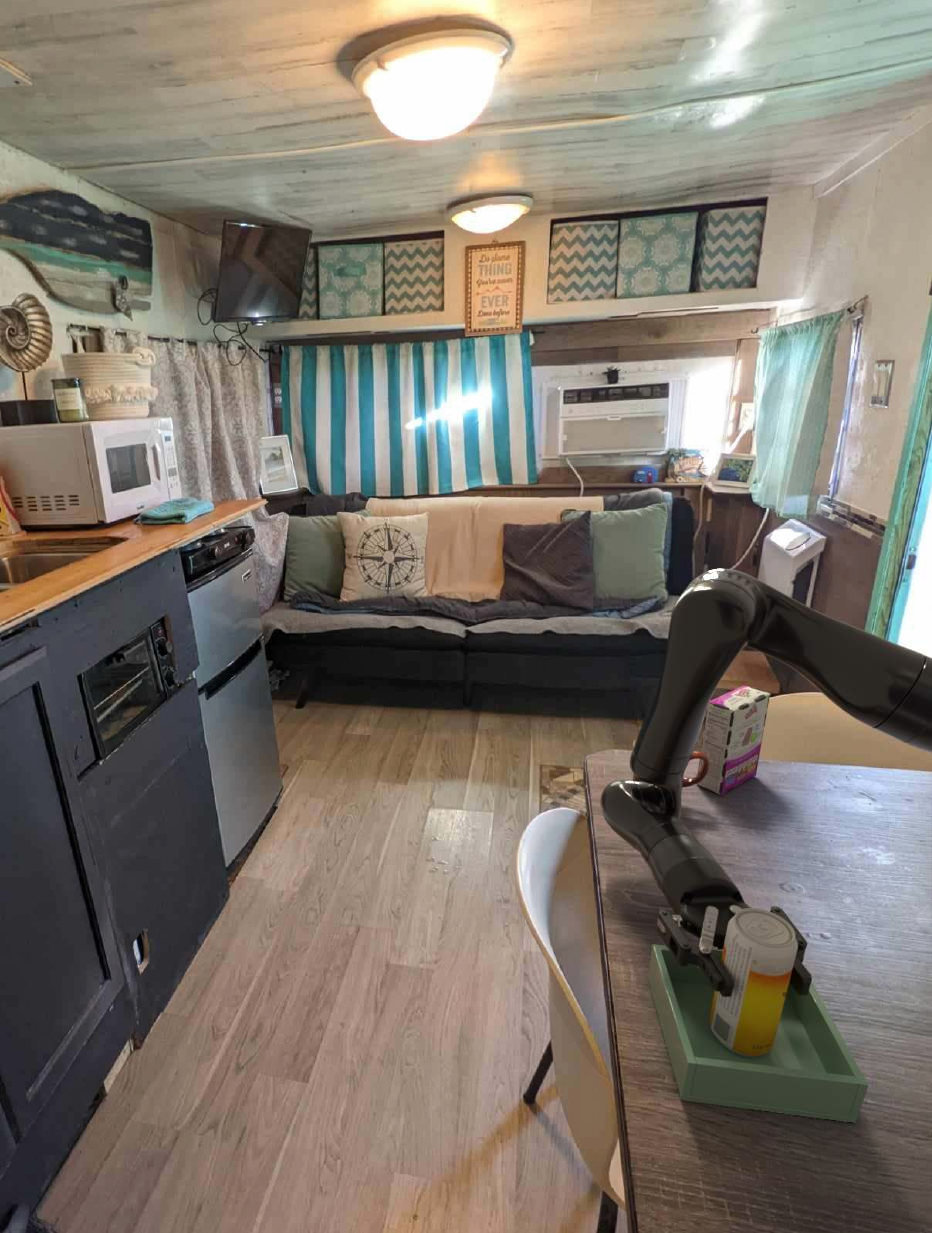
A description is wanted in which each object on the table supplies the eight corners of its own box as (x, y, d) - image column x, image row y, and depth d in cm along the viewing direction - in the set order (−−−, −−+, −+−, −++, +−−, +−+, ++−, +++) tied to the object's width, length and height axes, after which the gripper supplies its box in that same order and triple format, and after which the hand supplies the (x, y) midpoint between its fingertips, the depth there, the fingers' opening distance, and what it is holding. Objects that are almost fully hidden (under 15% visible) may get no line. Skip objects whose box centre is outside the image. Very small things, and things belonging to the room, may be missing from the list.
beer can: (785, 1045, 72) (813, 934, 67) (747, 1071, 70) (774, 958, 64) (732, 1004, 77) (754, 897, 72) (695, 1026, 75) (716, 918, 69)
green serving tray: (789, 992, 79) (798, 957, 77) (856, 1124, 65) (869, 1085, 63) (647, 978, 82) (652, 943, 80) (680, 1100, 68) (688, 1062, 66)
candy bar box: (729, 765, 127) (744, 684, 121) (756, 776, 123) (773, 693, 117) (693, 784, 121) (706, 700, 115) (720, 796, 117) (735, 710, 111)
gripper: (635, 857, 82) (700, 963, 67) (756, 853, 82) (849, 959, 66) (629, 907, 85) (689, 1019, 70) (746, 903, 85) (833, 1016, 69)
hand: (767, 989), depth 68 cm, fingers open, 7 cm apart
